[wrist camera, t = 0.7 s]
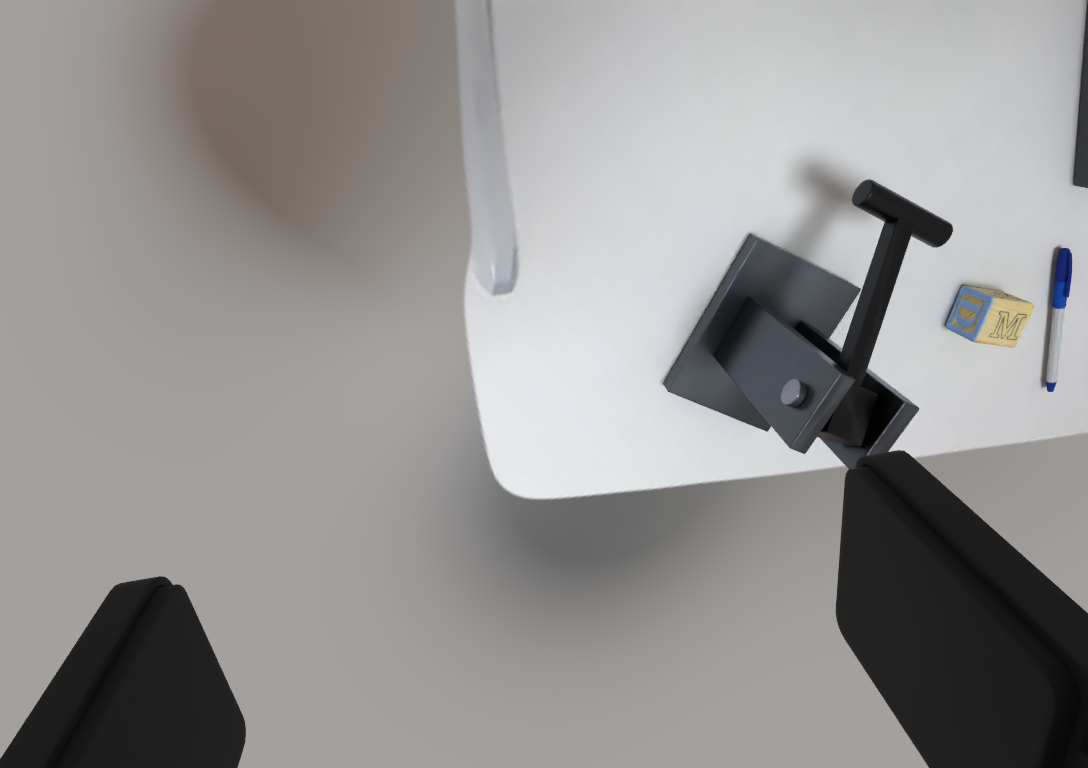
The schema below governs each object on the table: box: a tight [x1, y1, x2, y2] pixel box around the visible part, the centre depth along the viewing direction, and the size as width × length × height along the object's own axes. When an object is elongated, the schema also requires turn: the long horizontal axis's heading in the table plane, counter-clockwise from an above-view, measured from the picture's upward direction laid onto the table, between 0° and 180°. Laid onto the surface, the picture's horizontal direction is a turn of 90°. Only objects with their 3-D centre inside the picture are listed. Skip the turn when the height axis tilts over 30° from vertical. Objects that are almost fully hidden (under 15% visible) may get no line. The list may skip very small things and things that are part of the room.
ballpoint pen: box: [1046, 248, 1072, 392], centre depth 47 cm, size 10×1×1 cm, turn 15°
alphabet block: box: [946, 286, 1034, 348], centre depth 45 cm, size 3×3×3 cm
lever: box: [817, 180, 953, 446], centre depth 36 cm, size 13×6×2 cm, turn 155°
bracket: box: [664, 234, 919, 470], centre depth 40 cm, size 11×8×13 cm
